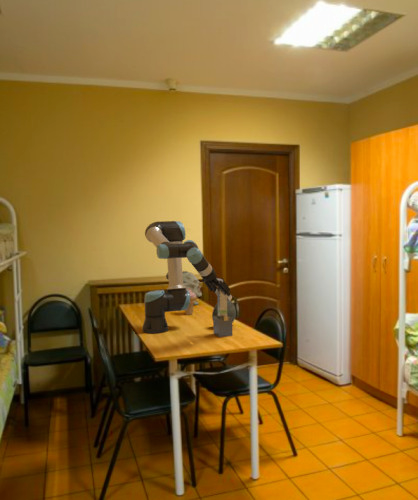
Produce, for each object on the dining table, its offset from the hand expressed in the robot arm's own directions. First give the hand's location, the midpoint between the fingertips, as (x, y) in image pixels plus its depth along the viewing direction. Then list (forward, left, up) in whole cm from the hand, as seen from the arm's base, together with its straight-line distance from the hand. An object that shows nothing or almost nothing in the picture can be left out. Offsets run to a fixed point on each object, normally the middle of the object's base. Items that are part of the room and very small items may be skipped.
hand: (226, 298), depth 248 cm
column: (-3, -2, -13) cm, 13 cm away
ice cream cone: (-2, +65, -21) cm, 69 cm away
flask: (+5, +16, -21) cm, 27 cm away
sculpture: (+5, +102, -21) cm, 104 cm away
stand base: (-3, -2, -21) cm, 21 cm away
